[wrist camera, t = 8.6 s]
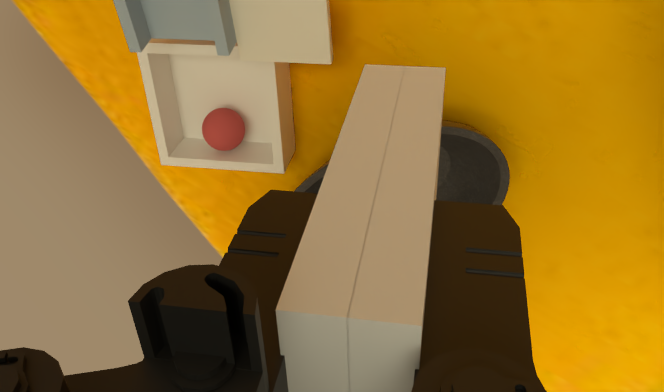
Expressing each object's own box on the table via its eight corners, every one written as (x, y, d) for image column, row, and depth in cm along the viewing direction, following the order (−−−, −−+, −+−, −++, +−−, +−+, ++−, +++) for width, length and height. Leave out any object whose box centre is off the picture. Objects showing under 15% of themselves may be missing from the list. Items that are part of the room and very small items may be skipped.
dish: (156, 24, 50) (134, 42, 46) (286, 28, 48) (272, 47, 45) (179, 141, 56) (161, 164, 52) (295, 149, 54) (284, 173, 51)
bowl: (539, 165, 50) (546, 209, 45) (336, 275, 61) (323, 320, 56) (451, 49, 47) (448, 84, 41) (250, 188, 57) (229, 229, 52)
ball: (204, 97, 51) (191, 128, 49) (245, 99, 51) (234, 131, 49) (214, 127, 54) (202, 158, 52) (253, 130, 53) (243, 160, 51)
